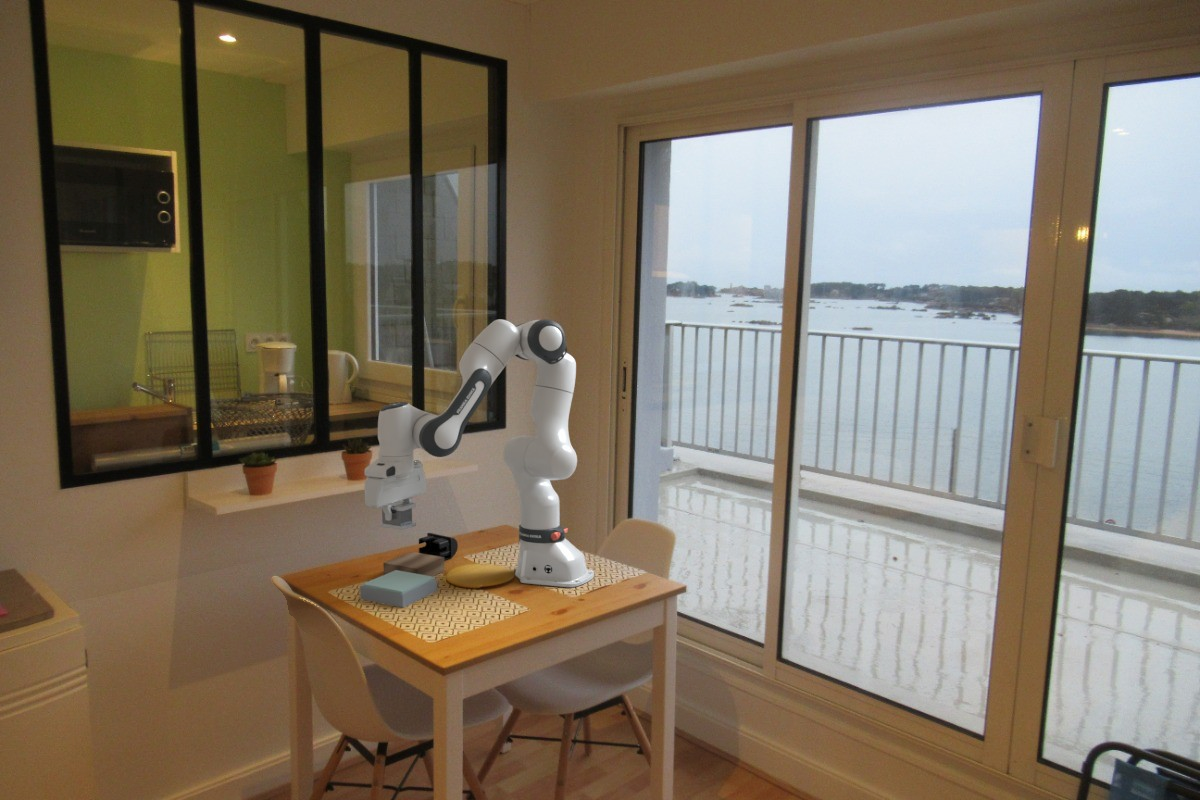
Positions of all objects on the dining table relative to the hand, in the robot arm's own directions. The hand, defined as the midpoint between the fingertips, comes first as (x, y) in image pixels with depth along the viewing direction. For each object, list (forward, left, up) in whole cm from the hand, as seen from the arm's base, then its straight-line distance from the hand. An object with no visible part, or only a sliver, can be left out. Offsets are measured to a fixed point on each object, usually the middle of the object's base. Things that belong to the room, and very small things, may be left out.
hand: (397, 517), depth 220 cm
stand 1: (+8, -16, -21) cm, 27 cm away
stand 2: (0, 0, -21) cm, 21 cm away
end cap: (+12, -32, -21) cm, 40 cm away
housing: (0, 0, -2) cm, 2 cm away
